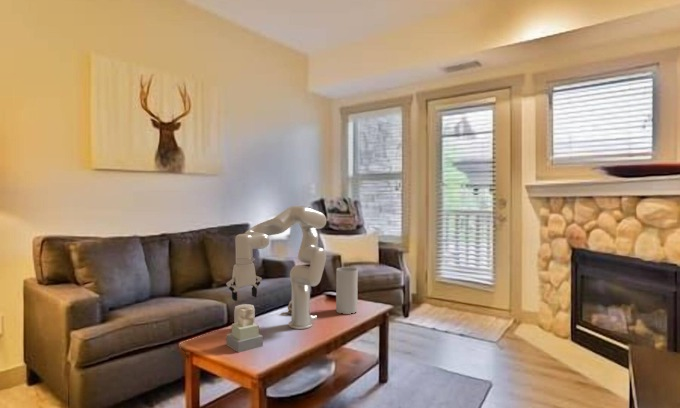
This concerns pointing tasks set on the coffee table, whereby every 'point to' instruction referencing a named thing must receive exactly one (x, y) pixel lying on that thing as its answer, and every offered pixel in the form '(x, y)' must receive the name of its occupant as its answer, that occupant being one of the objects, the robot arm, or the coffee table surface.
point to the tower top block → (245, 331)
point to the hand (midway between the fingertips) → (244, 298)
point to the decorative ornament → (290, 307)
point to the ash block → (245, 316)
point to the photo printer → (242, 307)
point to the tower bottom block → (244, 343)
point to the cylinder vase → (346, 290)
